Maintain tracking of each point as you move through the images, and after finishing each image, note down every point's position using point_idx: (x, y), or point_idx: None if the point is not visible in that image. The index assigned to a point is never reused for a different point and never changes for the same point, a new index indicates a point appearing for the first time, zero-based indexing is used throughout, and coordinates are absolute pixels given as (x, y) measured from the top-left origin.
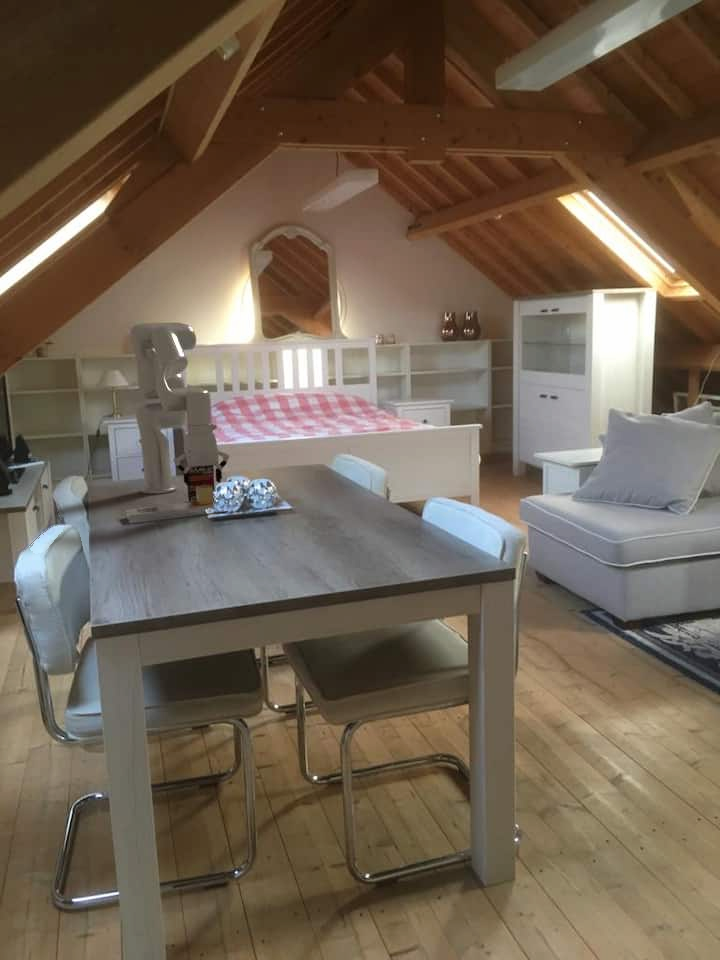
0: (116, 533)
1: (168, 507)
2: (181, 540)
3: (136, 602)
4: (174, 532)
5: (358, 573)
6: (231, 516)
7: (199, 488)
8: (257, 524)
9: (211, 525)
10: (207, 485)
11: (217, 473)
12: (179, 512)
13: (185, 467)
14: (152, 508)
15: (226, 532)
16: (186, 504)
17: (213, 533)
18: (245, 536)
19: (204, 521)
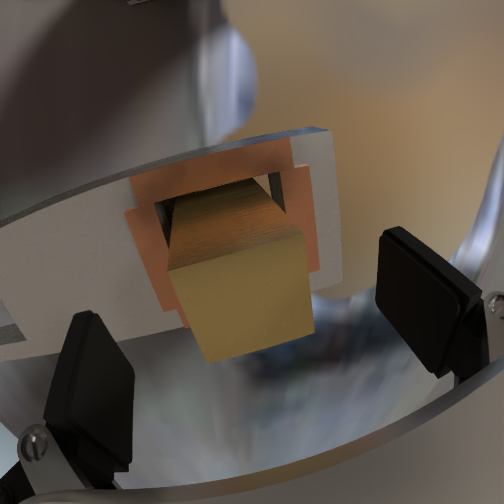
0: (15, 414)
1: (36, 287)
2: (185, 473)
3: None
4: (153, 444)
5: None
6: (322, 336)
7: (212, 362)
8: (357, 405)
9: (246, 415)
10: (281, 269)
11: (419, 352)
12: None
13: (59, 488)
14: None
15: (278, 448)
16: (111, 239)
17: (249, 453)
18: (307, 457)
19: (223, 382)
